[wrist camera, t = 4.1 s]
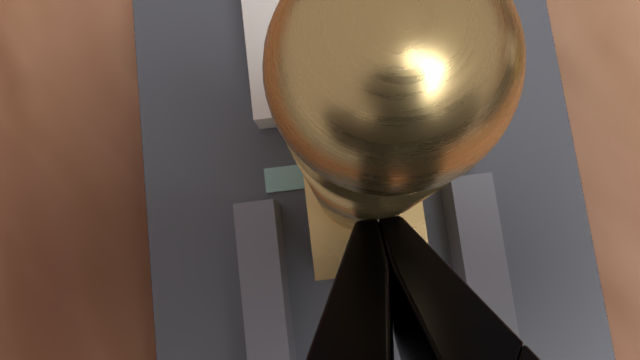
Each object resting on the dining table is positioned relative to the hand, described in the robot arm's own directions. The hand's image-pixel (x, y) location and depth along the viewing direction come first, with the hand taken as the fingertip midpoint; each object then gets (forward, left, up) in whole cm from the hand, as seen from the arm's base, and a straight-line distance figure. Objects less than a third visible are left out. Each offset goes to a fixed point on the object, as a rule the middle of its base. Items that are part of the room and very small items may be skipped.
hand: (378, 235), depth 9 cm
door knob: (+2, 0, -7) cm, 7 cm away
